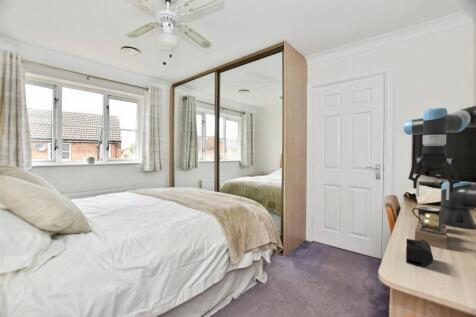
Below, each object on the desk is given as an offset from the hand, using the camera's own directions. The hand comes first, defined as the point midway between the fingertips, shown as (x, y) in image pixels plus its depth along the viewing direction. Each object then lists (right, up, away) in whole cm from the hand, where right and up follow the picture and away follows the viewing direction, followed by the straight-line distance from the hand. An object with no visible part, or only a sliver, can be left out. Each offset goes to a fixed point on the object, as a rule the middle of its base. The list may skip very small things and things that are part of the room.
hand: (431, 197), depth 96 cm
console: (+4, -19, +5) cm, 20 cm away
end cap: (-19, -20, -16) cm, 32 cm away
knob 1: (+7, -12, +9) cm, 16 cm away
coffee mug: (+15, -19, +21) cm, 32 cm away
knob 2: (0, -12, 0) cm, 12 cm away
